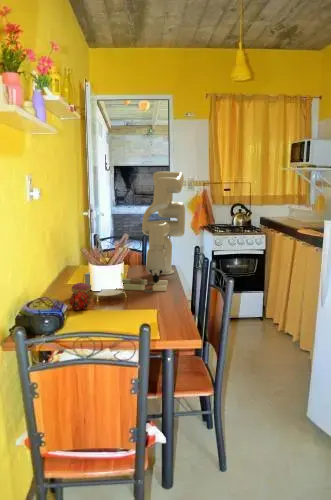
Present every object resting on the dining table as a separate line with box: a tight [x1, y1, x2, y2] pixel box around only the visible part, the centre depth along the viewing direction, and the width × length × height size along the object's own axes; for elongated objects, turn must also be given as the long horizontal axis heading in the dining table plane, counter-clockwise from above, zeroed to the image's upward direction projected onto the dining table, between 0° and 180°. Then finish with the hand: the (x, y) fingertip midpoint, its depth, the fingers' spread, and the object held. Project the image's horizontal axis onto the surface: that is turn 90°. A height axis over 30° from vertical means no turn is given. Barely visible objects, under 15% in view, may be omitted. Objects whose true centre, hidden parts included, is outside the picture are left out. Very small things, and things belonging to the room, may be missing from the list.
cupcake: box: [71, 272, 91, 294], centre depth 194 cm, size 9×8×12 cm
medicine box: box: [84, 272, 91, 290], centre depth 208 cm, size 8×4×9 cm, turn 84°
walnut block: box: [130, 277, 142, 285], centre depth 218 cm, size 5×5×4 cm
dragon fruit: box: [69, 291, 92, 312], centre depth 178 cm, size 8×8×12 cm
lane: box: [122, 278, 169, 292], centre depth 217 cm, size 12×25×2 cm, turn 87°
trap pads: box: [143, 281, 154, 294], centre depth 218 cm, size 21×4×1 cm, turn 177°
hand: (155, 282), depth 218 cm, fingers closed
